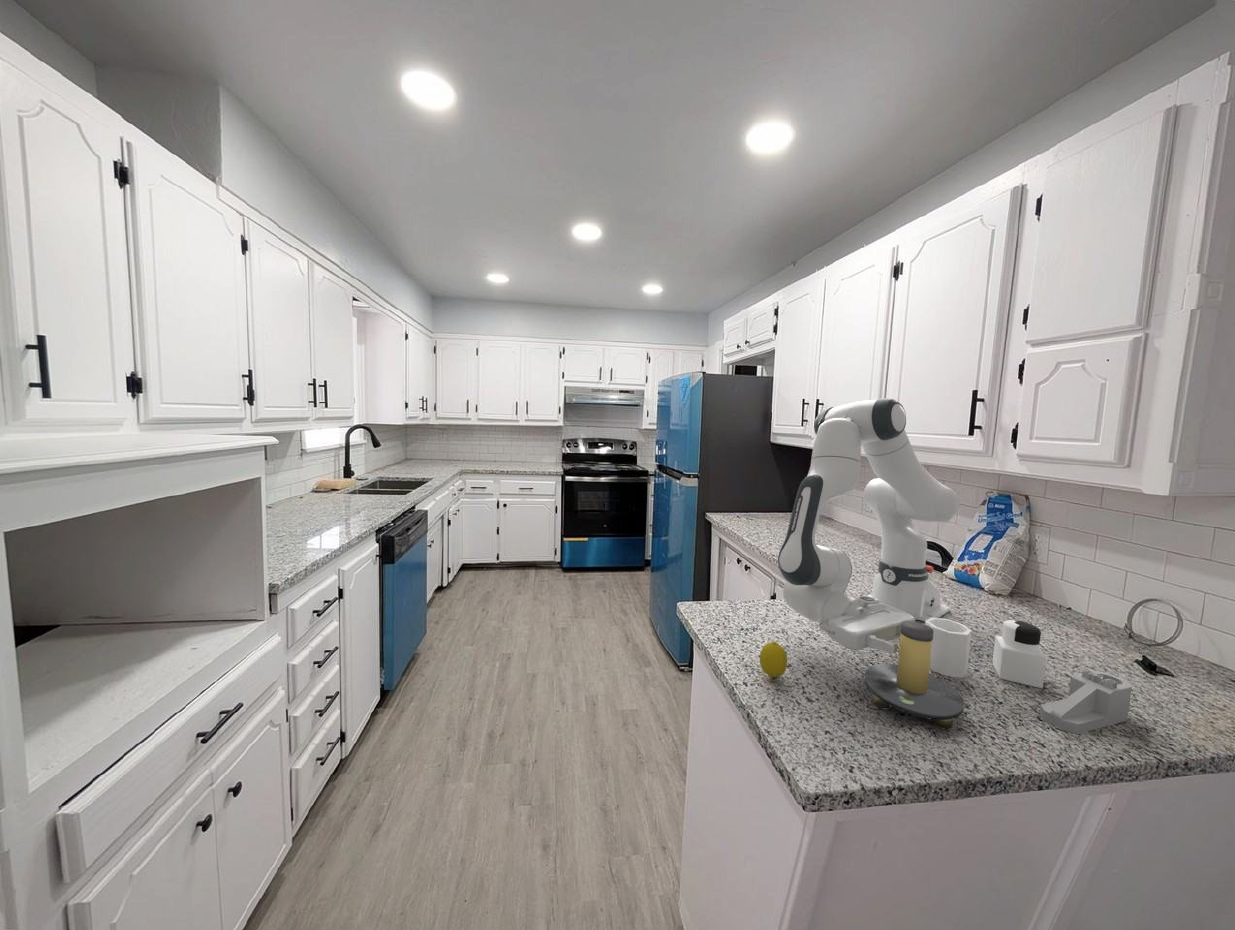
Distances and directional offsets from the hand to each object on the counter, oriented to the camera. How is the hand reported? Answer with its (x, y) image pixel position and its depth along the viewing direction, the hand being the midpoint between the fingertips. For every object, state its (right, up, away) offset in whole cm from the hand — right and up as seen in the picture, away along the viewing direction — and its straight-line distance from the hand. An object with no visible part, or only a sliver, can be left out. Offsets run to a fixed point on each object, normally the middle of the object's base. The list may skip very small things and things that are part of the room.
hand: (910, 644), depth 85 cm
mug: (+16, -11, +14) cm, 24 cm away
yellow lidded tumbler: (0, -8, 0) cm, 8 cm away
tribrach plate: (0, -12, 0) cm, 12 cm away
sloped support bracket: (+32, -13, -2) cm, 35 cm away
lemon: (-24, -11, +9) cm, 28 cm away
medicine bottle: (+31, -12, +12) cm, 35 cm away
